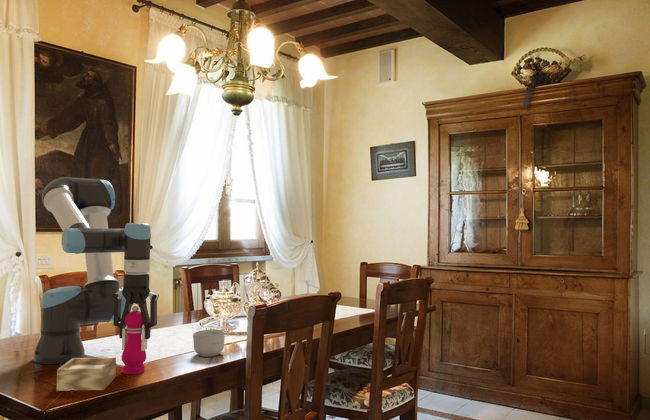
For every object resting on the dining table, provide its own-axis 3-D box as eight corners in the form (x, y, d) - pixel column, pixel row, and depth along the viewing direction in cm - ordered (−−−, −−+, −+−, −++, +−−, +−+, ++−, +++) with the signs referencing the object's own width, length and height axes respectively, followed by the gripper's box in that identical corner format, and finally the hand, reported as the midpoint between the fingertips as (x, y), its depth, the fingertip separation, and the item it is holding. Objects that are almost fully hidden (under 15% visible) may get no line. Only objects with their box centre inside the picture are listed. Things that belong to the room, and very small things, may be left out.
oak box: (56, 390, 144) (57, 369, 144) (71, 377, 156) (72, 358, 156) (103, 389, 145) (104, 368, 145) (115, 377, 157) (116, 357, 157)
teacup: (216, 359, 179) (217, 335, 179) (186, 357, 181) (187, 333, 182) (232, 350, 193) (232, 328, 193) (204, 348, 195) (204, 326, 195)
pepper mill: (121, 376, 158) (123, 308, 159) (120, 369, 165) (122, 304, 165) (147, 373, 161) (148, 307, 162) (145, 367, 168) (146, 303, 168)
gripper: (101, 273, 160) (99, 351, 160) (161, 275, 160) (159, 353, 159) (112, 271, 168) (110, 345, 167) (170, 272, 167) (168, 347, 167)
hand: (134, 349), depth 163 cm, fingers closed on pepper mill, 5 cm apart
